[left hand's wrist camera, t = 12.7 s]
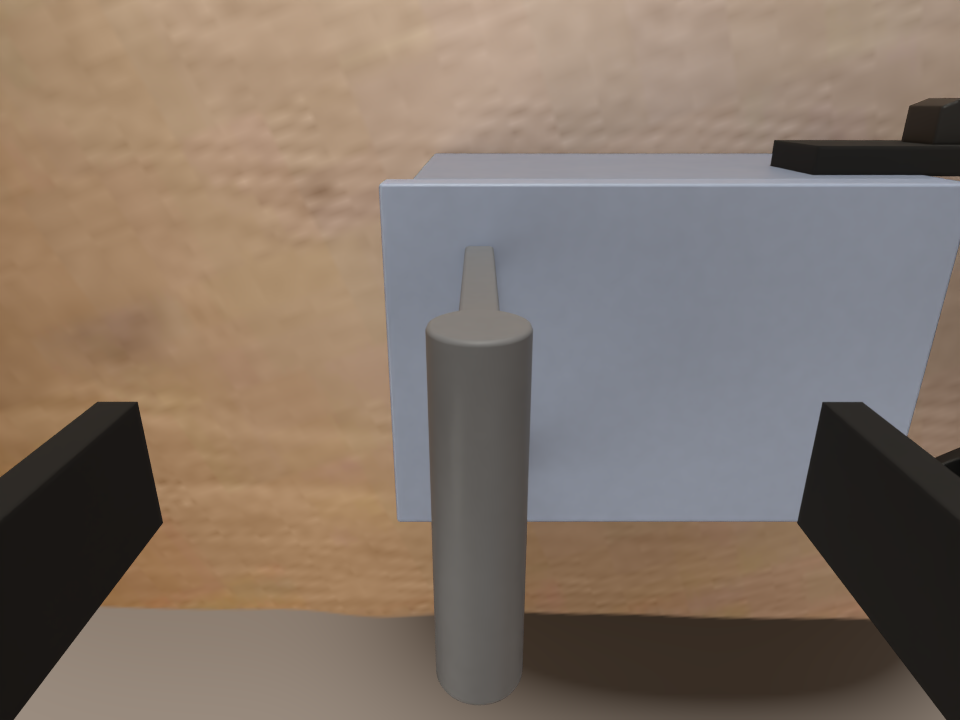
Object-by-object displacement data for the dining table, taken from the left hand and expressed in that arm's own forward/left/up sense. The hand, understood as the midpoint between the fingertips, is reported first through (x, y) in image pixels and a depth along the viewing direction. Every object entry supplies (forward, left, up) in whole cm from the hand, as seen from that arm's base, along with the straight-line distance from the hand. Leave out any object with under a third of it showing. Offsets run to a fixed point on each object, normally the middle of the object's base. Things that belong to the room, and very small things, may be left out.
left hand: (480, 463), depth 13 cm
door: (+5, +1, -6) cm, 7 cm away
